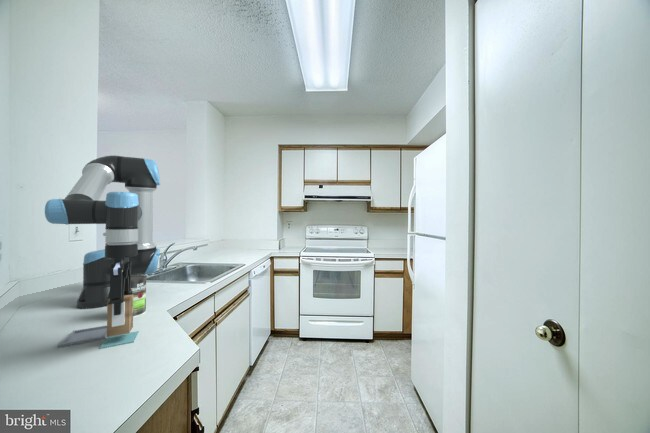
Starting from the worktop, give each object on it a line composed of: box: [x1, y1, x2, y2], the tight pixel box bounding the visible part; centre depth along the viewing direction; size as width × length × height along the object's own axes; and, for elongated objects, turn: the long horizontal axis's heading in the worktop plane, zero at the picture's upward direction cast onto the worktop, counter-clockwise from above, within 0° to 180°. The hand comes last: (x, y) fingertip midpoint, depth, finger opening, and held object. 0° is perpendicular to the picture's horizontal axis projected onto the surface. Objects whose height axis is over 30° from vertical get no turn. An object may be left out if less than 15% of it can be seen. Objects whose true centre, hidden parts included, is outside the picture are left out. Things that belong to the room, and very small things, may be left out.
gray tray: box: [57, 325, 107, 349], centre depth 74 cm, size 10×10×1 cm
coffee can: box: [130, 275, 147, 319], centre depth 92 cm, size 10×10×14 cm
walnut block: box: [106, 295, 134, 338], centre depth 72 cm, size 5×5×10 cm
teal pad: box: [99, 330, 140, 350], centre depth 72 cm, size 8×8×1 cm
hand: (120, 321), depth 72 cm, fingers closed on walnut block, 5 cm apart
